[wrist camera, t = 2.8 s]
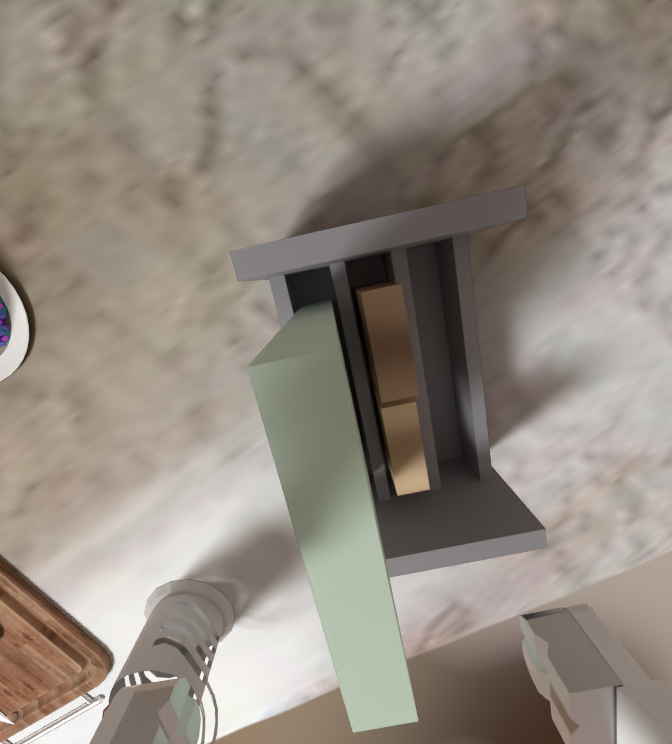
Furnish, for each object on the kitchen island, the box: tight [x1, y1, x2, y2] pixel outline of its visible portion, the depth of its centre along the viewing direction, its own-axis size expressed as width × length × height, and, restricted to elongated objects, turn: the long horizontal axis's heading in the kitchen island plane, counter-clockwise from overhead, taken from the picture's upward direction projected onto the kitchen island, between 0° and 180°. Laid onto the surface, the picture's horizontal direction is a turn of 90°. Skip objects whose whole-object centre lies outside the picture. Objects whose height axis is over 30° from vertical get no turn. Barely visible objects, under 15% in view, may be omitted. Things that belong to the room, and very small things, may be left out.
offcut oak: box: [370, 381, 430, 496], centre depth 28 cm, size 7×2×6 cm, turn 12°
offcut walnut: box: [352, 282, 419, 403], centre depth 25 cm, size 7×2×8 cm, turn 12°
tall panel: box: [247, 299, 418, 732], centre depth 20 cm, size 14×2×20 cm, turn 12°
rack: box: [229, 185, 547, 577], centre depth 26 cm, size 22×15×12 cm
